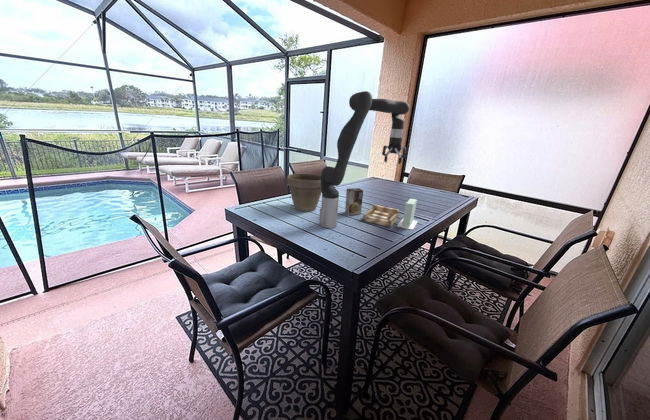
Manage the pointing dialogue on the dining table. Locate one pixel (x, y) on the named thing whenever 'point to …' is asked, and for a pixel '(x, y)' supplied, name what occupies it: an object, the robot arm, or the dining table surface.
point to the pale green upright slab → (409, 212)
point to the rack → (392, 215)
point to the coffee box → (354, 201)
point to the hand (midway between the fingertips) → (392, 163)
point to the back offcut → (381, 214)
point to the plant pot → (305, 190)
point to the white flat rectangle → (410, 225)
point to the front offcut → (379, 216)
